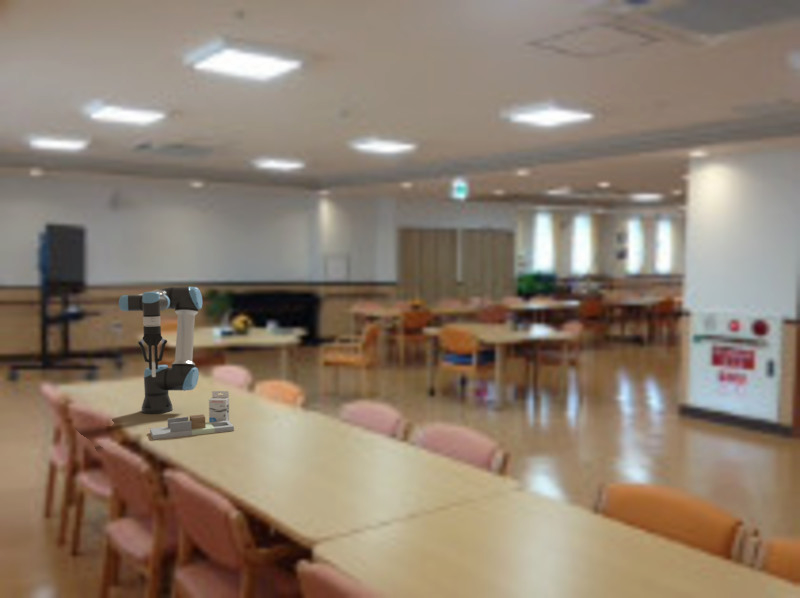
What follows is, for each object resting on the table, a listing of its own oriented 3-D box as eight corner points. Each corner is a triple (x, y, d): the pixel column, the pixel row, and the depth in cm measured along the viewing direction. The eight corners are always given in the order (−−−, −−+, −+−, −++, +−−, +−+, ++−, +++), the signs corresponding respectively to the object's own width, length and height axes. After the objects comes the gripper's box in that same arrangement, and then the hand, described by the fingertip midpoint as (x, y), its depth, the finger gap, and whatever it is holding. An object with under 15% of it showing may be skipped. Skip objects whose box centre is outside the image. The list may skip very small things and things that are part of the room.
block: (189, 426, 329) (189, 415, 329) (203, 424, 332) (203, 414, 332) (191, 429, 324) (191, 418, 324) (205, 427, 326) (205, 416, 326)
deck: (150, 432, 326) (149, 419, 326) (228, 424, 341) (227, 411, 340) (153, 439, 314) (152, 426, 314) (233, 430, 329) (233, 417, 329)
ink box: (208, 423, 343) (208, 392, 342) (212, 421, 348) (211, 390, 347) (226, 423, 342) (225, 393, 341) (229, 421, 347) (229, 391, 346)
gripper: (137, 327, 324) (139, 379, 326) (167, 325, 330) (169, 376, 331) (136, 325, 331) (138, 376, 333) (165, 324, 337) (167, 374, 338)
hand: (153, 376), depth 332 cm, fingers closed
